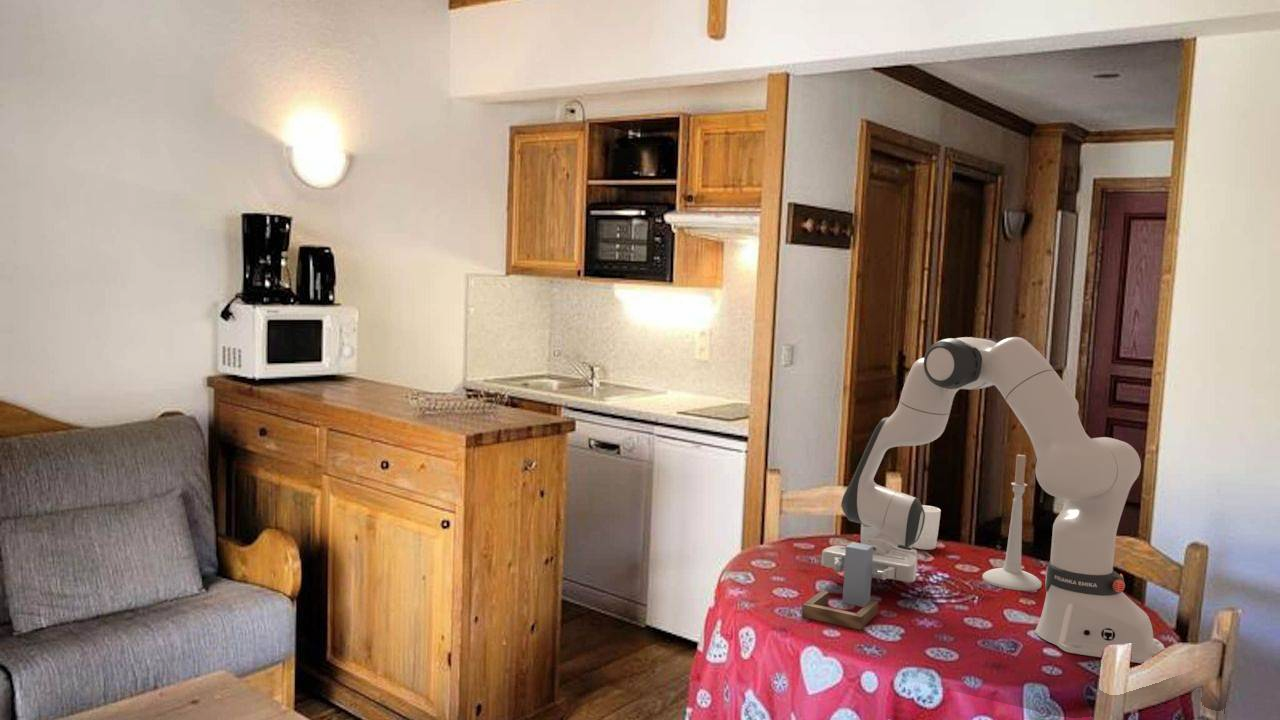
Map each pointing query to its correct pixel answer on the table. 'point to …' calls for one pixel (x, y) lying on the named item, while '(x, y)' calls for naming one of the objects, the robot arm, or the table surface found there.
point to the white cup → (929, 529)
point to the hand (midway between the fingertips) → (858, 571)
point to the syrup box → (867, 532)
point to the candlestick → (1014, 544)
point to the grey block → (857, 574)
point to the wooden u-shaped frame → (838, 612)
